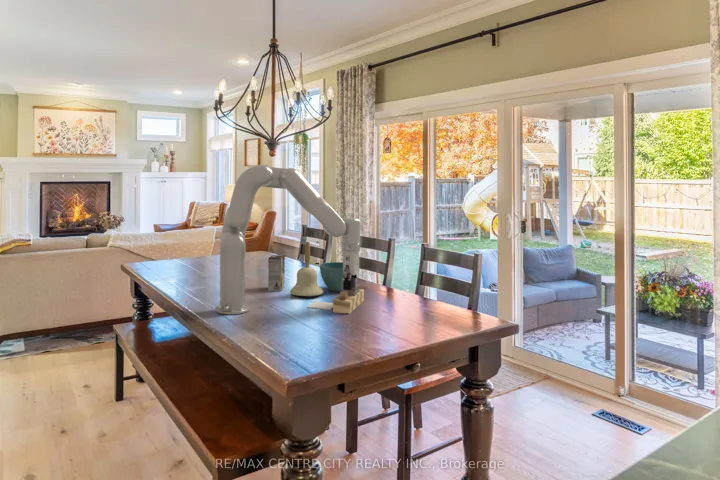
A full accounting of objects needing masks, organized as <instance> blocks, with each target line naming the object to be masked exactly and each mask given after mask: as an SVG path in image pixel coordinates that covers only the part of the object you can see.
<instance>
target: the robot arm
mask: <svg viewBox="0 0 720 480" xmlns="http://www.w3.org/2000/svg"><path fill="white" fill-rule="evenodd" d="M262 187H263V188H273V189H283V190H284V189H285V190H287V192H288V193H289V194H290V195H291V196H292V197H293V198H294V199H295V200H296V202H297V203H298V204H299V205H300V206H301V207H302V208H303V209H304V210H305V211H306V212H308V213H309V214H310V215H312V216H313V217H314V218H315V219H316V220H317V221H318V222H319V223H320V224H321V225H322V228H323V231H324V232H325V233H326V234H328V235H329V236H331V237H334V238H339V237H341V251H342V252H343V260H342V262H343V274H344V278H343V290H351V281H350V279H351V277H352V278H358V273H359V272H360V254H359V252H360V251H361V220H360V218H358V217H345V218H344V217H343V218H341V216H340V215H339V214H338V213H337V212H336V211H335V210H334V208H333V207H332V206H331V205H330V204H329V203H328V202H327V201H326V199H324V198H323V196H321V195H320V193H319V192H318V191H317V190H316V189H315V187H313V186H312V185H311V183H310V182H309V181H308V180H307V179H306V178H305V176H304V175H303V174H302V173H301V172H300V171H299V170H298V169H296V168H293V167H290V168H289V167H288V168H285V167H284V168H283V167H275V166H274V167H273V166H268V165H267V164H258V165H255V166H254V165H253V166H251V167H249V168H247V169H245V170H244V171H243V172H242V173H241V174H240V175H239V176H238V177H237V180H236V182H235V184H234V188H233V192H232V195H231V199H230V202H229V207H228V208H227V210H226V211H225V216H224V220H223V222H222V223H223V224H222V228H221V233H220V238H219V294H220V295H219V305H217V306H215V308H214V309H215V312H216V313H218V314H221V315H240V314H244V313H248V311H250V309H249V306H248V305H246V250H247V249H246V248H247V247H246V240H245V238H246V234H247V229H248V225H249V223H250V221H251V218H252V212H253V211H252V210H253V205H254V202H255V198H256V195H257V192H258V191H259V189H260V188H262Z"/></svg>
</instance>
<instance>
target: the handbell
mask: <svg viewBox="0 0 720 480" xmlns="http://www.w3.org/2000/svg"><path fill="white" fill-rule="evenodd" d="M310 244H311V243H310V241H306V242H305V244H304V262H305V263H304V264H305V266H303V267H300V268H299V269H298V270H297V273H296V283H295V285H293V287H292V288H291V289H290V290H289V294H291V295H294V296H300V297H315V296H316V297H317V296H321V295H322V294H323V293H324V290H323V288H321V287H320V286H319V285H318V273H317V271H316V269H315V268H314V267H310V261H311V245H310Z"/></svg>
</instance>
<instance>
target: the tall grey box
mask: <svg viewBox="0 0 720 480" xmlns="http://www.w3.org/2000/svg"><path fill="white" fill-rule="evenodd" d="M343 278H344V277H343ZM343 278H342V289H341V291H346V292H347V295H348V296H356V295H357V293H358V284H359V277H357V278H352V277H351V279H350V281H351V290H343Z"/></svg>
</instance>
